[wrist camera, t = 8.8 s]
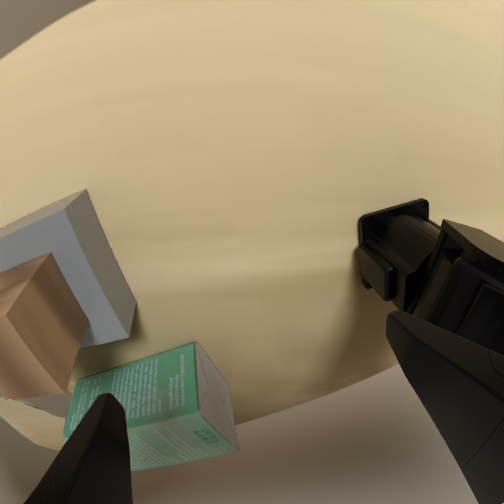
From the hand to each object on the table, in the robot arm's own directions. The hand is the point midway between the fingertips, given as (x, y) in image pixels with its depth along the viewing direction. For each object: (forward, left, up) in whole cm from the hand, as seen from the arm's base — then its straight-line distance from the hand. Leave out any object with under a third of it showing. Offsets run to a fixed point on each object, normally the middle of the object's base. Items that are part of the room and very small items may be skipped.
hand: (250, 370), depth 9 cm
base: (+12, 0, -13) cm, 18 cm away
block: (+12, 0, -9) cm, 15 cm away
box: (+11, +14, -13) cm, 22 cm away
